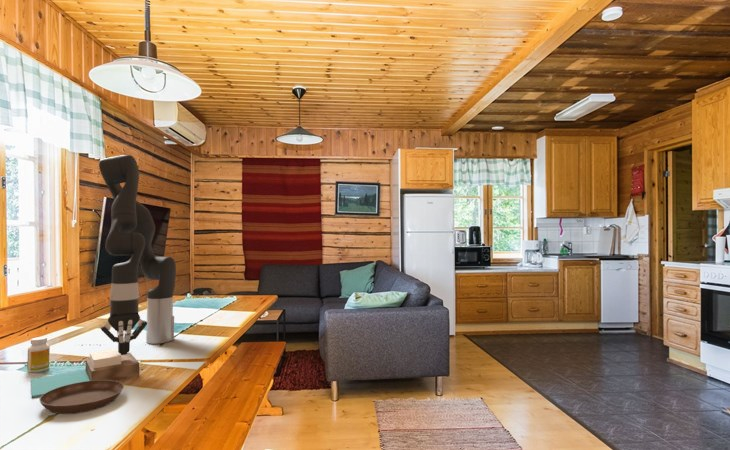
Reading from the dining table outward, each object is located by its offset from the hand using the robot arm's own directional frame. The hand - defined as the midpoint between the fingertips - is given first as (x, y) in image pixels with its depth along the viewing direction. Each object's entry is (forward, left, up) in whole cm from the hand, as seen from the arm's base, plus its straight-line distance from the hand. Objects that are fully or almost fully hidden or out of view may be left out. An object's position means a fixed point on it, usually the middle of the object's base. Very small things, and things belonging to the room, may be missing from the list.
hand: (123, 354), depth 128 cm
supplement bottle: (+20, -19, -6) cm, 28 cm away
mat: (+15, 0, -6) cm, 16 cm away
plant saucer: (+12, +19, -6) cm, 23 cm away
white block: (+5, 0, -2) cm, 5 cm away
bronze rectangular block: (+3, 0, -6) cm, 6 cm away
